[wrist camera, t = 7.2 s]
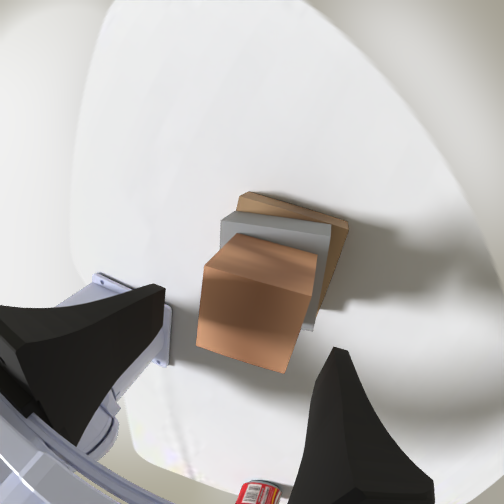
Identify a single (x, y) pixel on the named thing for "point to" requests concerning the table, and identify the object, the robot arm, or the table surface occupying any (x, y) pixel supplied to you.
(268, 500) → the soda can
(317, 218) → the tower base
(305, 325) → the tower top
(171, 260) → the table surface
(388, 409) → the table surface
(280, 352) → the terracotta block
